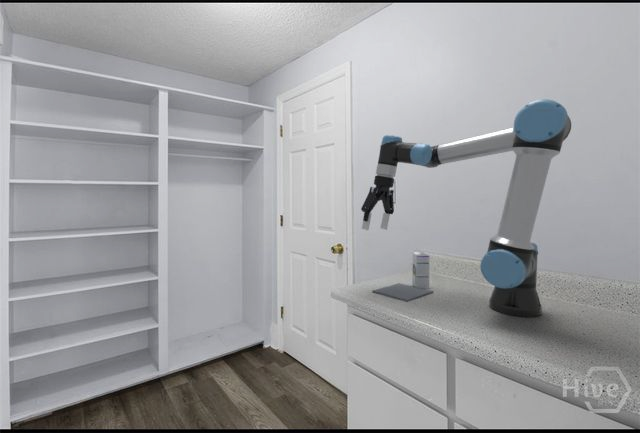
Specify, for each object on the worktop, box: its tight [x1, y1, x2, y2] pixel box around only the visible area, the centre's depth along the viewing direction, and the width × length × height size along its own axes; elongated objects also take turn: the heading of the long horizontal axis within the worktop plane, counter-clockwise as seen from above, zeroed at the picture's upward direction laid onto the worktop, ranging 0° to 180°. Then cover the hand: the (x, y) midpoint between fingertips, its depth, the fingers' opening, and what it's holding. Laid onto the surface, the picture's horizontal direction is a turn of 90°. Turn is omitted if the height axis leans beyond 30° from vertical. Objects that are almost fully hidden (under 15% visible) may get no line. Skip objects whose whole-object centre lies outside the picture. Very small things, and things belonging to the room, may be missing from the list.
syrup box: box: [412, 251, 431, 290], centre depth 136 cm, size 6×6×14 cm
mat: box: [372, 283, 434, 303], centre depth 128 cm, size 18×16×1 cm
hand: (374, 229), depth 128 cm, fingers open, 13 cm apart
